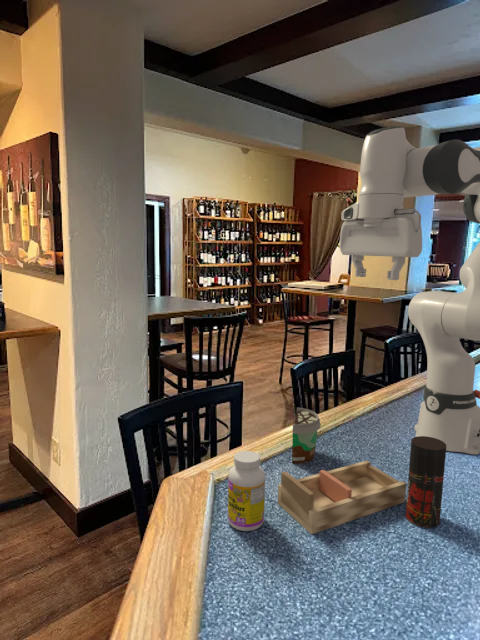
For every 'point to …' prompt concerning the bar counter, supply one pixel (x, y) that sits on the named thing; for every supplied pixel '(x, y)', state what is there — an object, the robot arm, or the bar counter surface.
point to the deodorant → (425, 481)
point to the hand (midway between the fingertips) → (376, 278)
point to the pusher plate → (333, 487)
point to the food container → (304, 436)
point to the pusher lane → (324, 513)
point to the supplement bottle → (246, 492)
